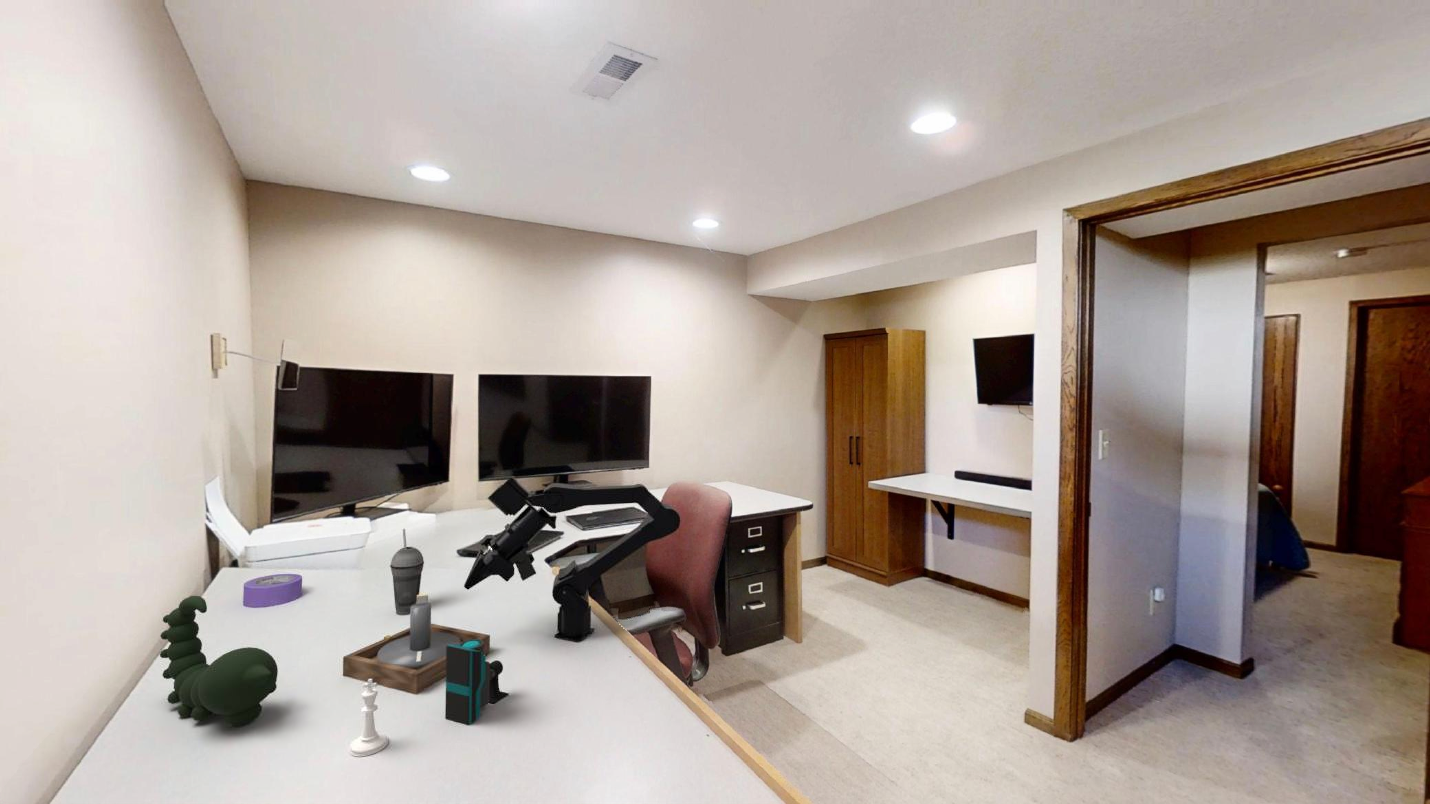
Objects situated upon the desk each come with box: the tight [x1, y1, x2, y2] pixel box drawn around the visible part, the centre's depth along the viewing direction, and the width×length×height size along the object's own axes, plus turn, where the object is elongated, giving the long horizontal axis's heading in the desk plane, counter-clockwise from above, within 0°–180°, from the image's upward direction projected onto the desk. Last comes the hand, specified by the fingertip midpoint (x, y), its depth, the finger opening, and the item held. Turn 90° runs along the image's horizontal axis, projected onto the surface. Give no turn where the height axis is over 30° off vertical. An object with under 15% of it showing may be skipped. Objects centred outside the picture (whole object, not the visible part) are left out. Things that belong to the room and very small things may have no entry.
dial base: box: [342, 623, 491, 695], centre depth 111 cm, size 18×18×4 cm
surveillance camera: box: [444, 639, 509, 726], centre depth 96 cm, size 6×12×10 cm
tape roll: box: [242, 573, 303, 608], centre depth 144 cm, size 12×12×5 cm
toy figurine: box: [159, 595, 279, 728], centre depth 92 cm, size 10×19×26 cm
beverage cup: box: [389, 528, 425, 616], centre depth 137 cm, size 7×7×20 cm
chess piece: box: [348, 679, 389, 758], centre depth 84 cm, size 5×5×10 cm
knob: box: [377, 593, 460, 670], centre depth 111 cm, size 14×14×10 cm
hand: (465, 587), depth 118 cm, fingers closed
